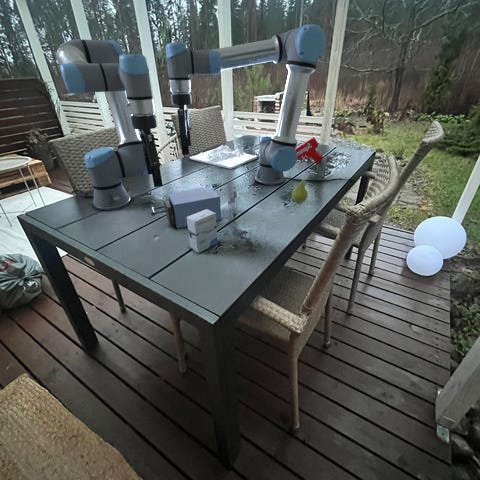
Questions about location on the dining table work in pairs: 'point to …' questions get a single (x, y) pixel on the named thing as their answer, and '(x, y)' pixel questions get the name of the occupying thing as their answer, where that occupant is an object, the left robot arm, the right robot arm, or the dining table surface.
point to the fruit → (300, 192)
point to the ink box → (202, 230)
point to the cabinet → (194, 204)
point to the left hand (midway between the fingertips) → (155, 179)
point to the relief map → (224, 157)
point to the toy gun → (309, 150)
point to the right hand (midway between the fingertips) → (187, 150)
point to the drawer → (167, 210)
